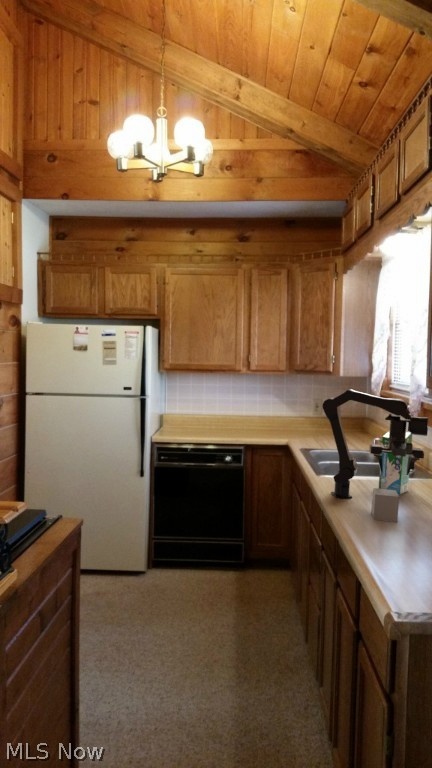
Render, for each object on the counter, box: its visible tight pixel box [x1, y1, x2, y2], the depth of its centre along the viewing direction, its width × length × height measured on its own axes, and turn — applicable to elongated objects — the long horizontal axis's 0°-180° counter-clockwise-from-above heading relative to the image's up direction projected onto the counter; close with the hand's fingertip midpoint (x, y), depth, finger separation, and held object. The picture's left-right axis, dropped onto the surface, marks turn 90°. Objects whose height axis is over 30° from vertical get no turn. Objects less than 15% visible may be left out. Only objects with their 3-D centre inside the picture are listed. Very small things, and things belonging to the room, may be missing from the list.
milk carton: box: [378, 430, 413, 496], centre depth 193 cm, size 9×9×25 cm
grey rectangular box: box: [371, 487, 400, 523], centre depth 160 cm, size 8×8×9 cm
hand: (394, 473), depth 174 cm, fingers open, 9 cm apart
